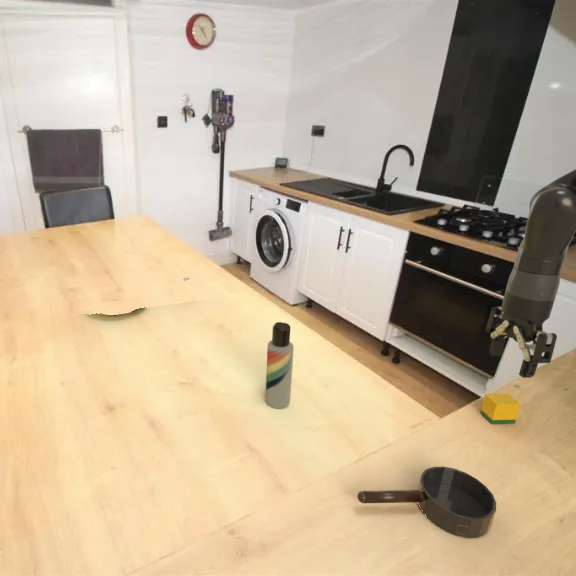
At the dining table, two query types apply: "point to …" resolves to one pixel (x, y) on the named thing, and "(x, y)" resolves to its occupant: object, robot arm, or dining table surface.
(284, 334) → the lotion bottle
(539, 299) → the robot arm
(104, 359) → the dining table surface
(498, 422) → the sponge
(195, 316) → the dining table surface
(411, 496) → the pan handle
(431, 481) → the pan
